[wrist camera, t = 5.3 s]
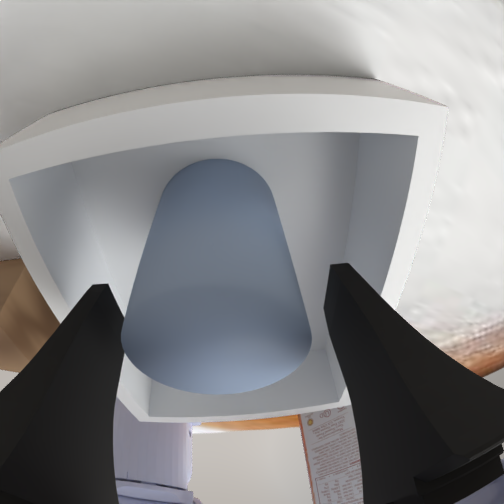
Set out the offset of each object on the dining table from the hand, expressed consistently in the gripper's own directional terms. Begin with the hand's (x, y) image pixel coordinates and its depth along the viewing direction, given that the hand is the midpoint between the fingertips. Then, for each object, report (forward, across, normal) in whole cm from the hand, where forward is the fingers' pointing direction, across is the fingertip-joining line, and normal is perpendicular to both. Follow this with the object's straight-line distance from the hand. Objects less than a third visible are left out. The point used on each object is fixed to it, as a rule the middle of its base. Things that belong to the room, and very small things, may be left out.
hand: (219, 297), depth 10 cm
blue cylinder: (+5, 0, 0) cm, 5 cm away
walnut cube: (+6, +14, +4) cm, 16 cm away
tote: (+5, 0, +3) cm, 6 cm away
